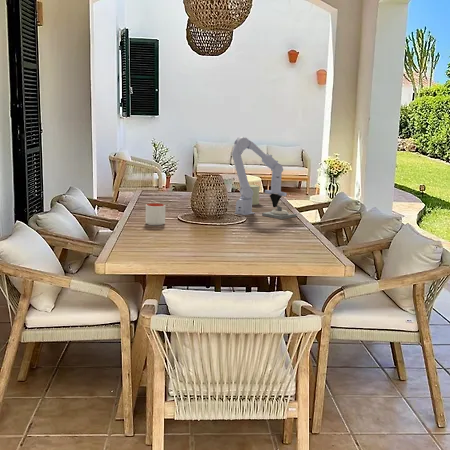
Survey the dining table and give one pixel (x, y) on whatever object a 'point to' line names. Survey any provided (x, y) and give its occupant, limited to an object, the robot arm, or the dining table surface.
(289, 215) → the dial plate
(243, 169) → the robot arm
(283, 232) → the dining table surface
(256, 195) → the can
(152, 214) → the cup
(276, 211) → the dial
